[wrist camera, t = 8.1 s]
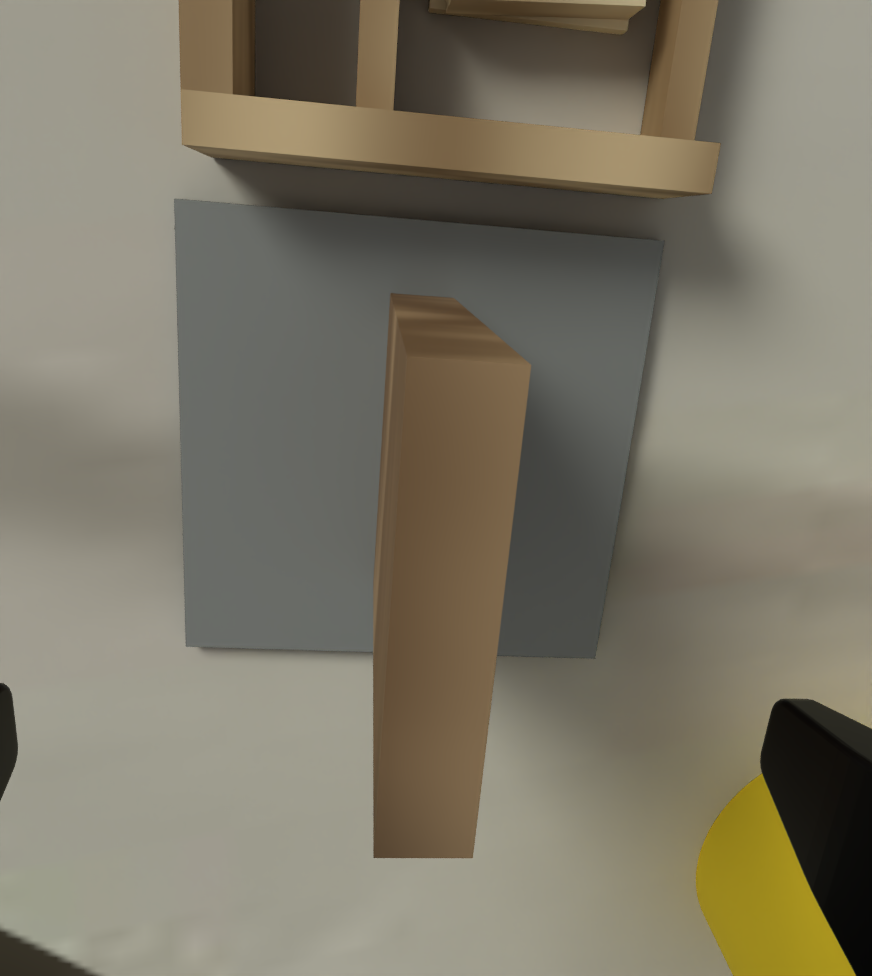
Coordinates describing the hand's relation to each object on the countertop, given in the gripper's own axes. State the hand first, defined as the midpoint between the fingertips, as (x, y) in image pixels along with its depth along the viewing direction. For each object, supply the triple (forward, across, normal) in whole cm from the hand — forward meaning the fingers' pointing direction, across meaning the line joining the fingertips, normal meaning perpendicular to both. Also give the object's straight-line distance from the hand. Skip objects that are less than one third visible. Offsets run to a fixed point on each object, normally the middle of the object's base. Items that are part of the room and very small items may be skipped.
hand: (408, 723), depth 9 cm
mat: (+12, -1, 0) cm, 13 cm away
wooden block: (+12, -1, 0) cm, 12 cm away
